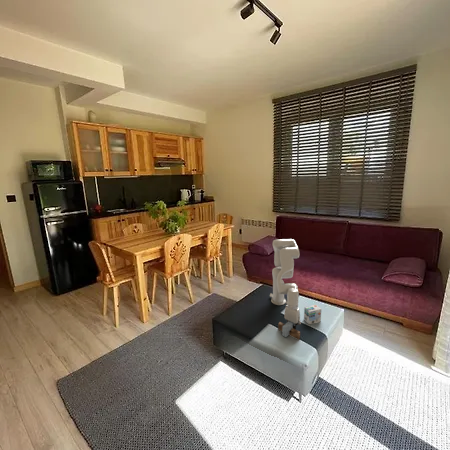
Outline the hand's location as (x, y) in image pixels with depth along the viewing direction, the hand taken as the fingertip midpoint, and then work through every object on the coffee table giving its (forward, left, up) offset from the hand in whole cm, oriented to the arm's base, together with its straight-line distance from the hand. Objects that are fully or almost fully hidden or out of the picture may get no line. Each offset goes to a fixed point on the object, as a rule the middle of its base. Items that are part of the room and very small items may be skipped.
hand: (291, 328), depth 170 cm
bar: (0, -4, -1) cm, 4 cm away
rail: (0, -4, -2) cm, 5 cm away
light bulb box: (+5, +21, -2) cm, 22 cm away
